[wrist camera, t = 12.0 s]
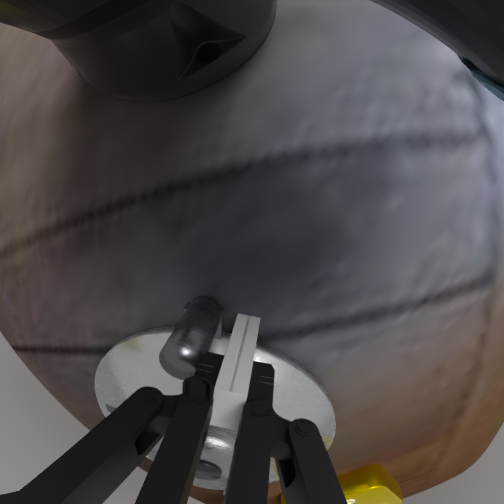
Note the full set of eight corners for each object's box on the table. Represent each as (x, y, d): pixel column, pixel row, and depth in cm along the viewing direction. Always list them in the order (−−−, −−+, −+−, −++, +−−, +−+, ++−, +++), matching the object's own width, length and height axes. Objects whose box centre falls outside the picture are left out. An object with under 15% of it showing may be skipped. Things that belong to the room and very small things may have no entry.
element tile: (376, 458, 25) (383, 487, 20) (401, 484, 28) (406, 505, 23) (275, 490, 29) (273, 516, 24) (320, 511, 31) (320, 532, 27)
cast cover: (152, 393, 21) (134, 428, 17) (267, 411, 21) (263, 452, 16) (168, 450, 24) (157, 480, 20) (258, 465, 23) (255, 497, 19)
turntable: (72, 273, 20) (23, 304, 14) (375, 309, 18) (406, 361, 12) (127, 453, 28) (111, 485, 22) (305, 482, 26) (306, 520, 20)
